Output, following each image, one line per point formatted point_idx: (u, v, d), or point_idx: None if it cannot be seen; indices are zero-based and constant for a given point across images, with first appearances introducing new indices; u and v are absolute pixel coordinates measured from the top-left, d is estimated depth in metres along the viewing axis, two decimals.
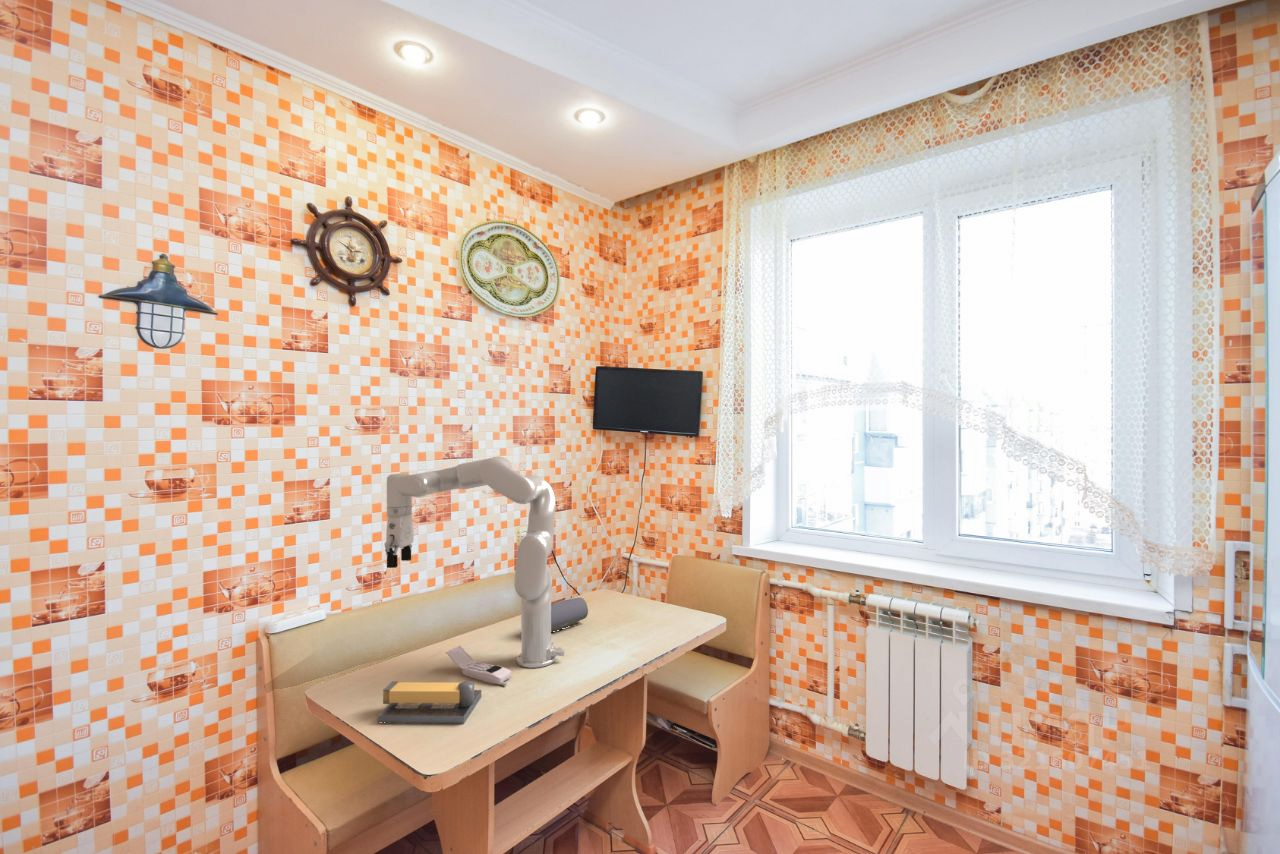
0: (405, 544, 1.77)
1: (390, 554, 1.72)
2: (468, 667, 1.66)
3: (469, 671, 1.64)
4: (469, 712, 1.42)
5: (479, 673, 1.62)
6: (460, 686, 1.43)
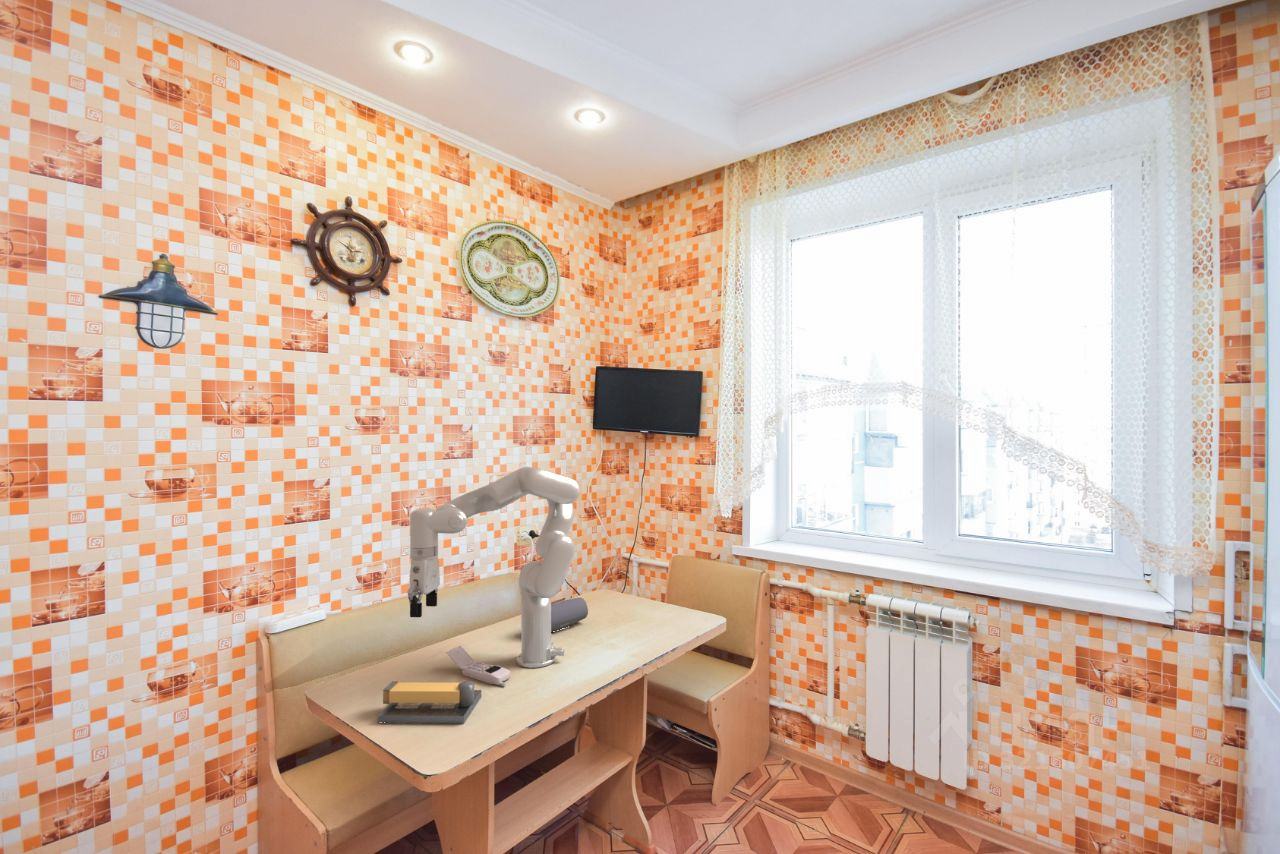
0: (430, 590, 1.56)
1: (414, 602, 1.52)
2: (468, 667, 1.66)
3: (469, 671, 1.64)
4: (469, 712, 1.42)
5: (478, 673, 1.62)
6: (460, 686, 1.43)
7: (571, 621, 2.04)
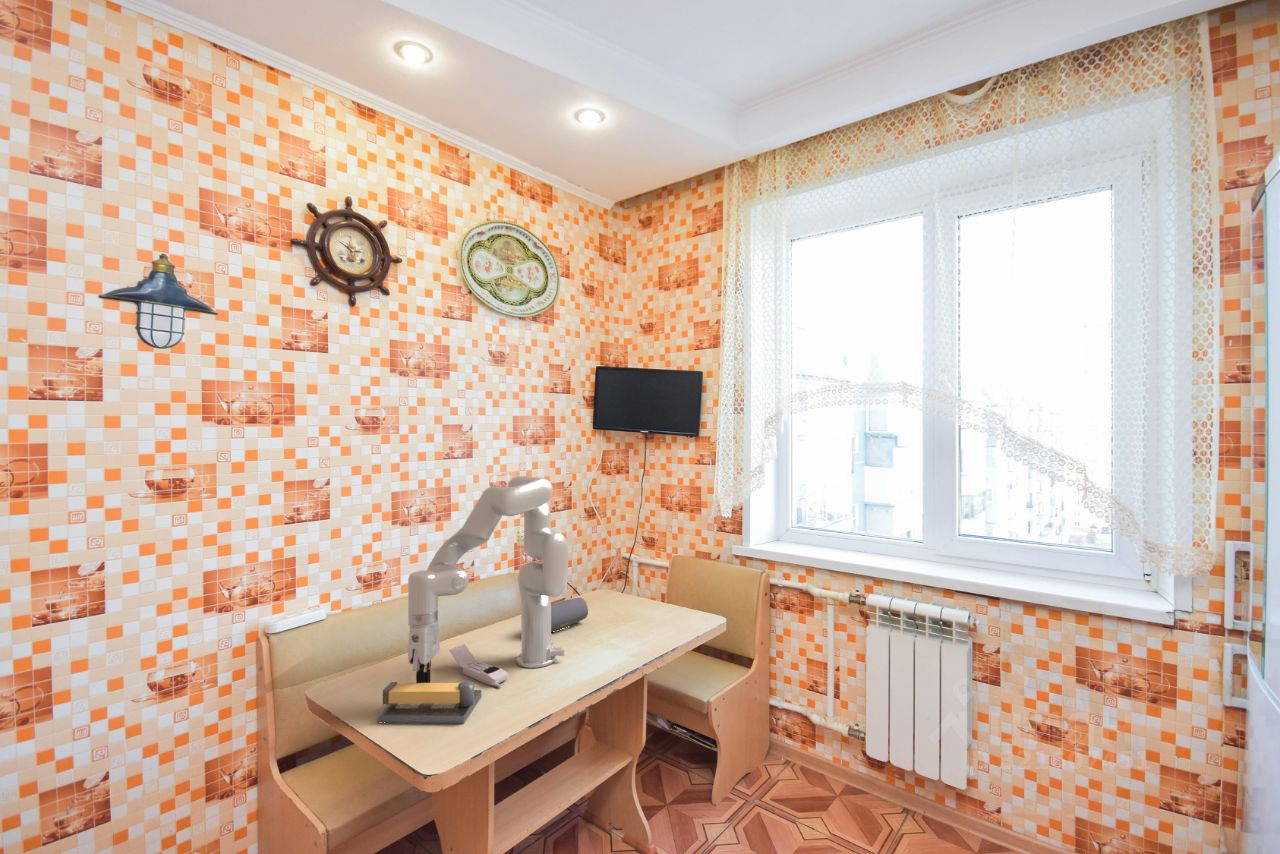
0: (430, 658, 1.47)
1: None
2: (468, 666, 1.67)
3: (468, 670, 1.65)
4: (469, 712, 1.42)
5: (477, 673, 1.62)
6: (460, 686, 1.43)
7: (571, 621, 2.04)
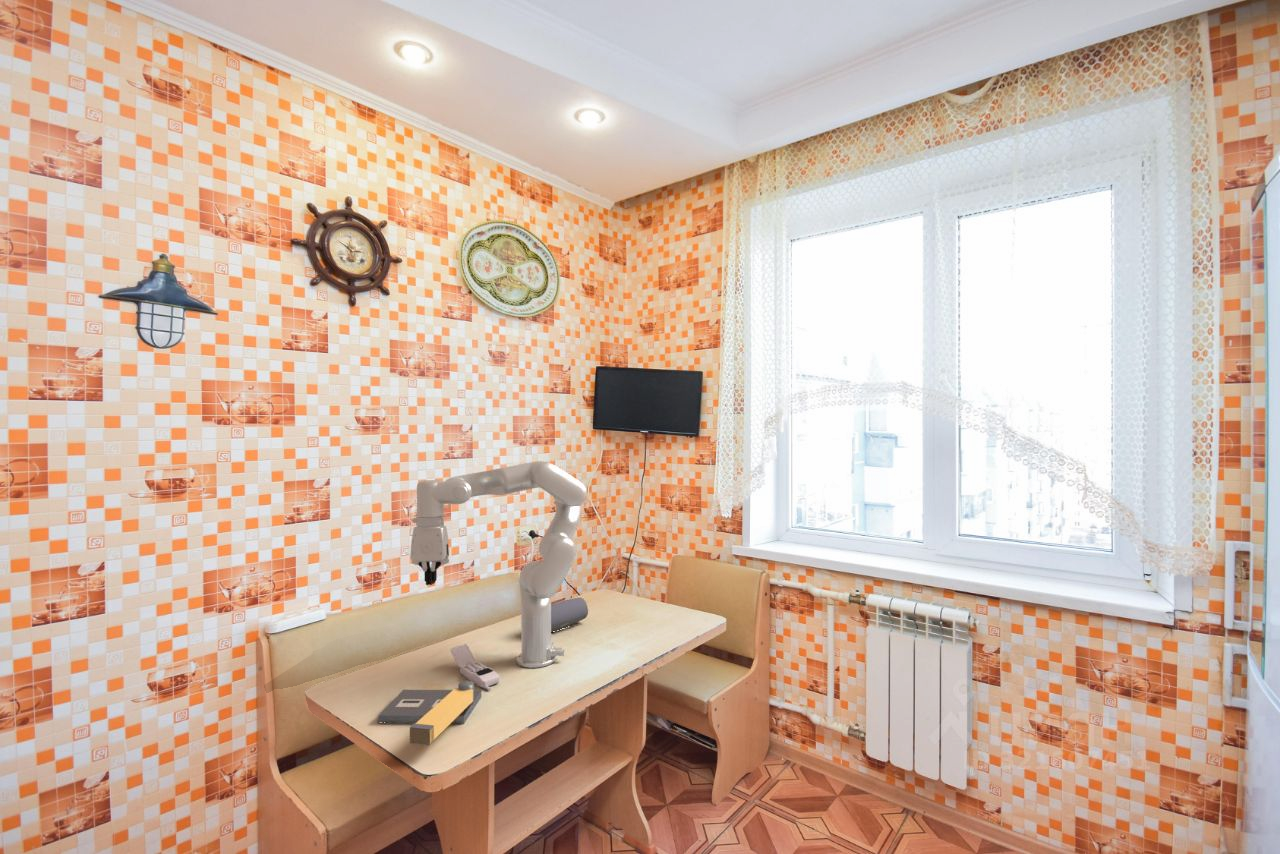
0: (420, 559, 1.59)
1: None
2: (465, 666, 1.67)
3: (464, 670, 1.65)
4: (469, 712, 1.42)
5: (470, 674, 1.62)
6: (468, 686, 1.43)
7: (571, 621, 2.04)
